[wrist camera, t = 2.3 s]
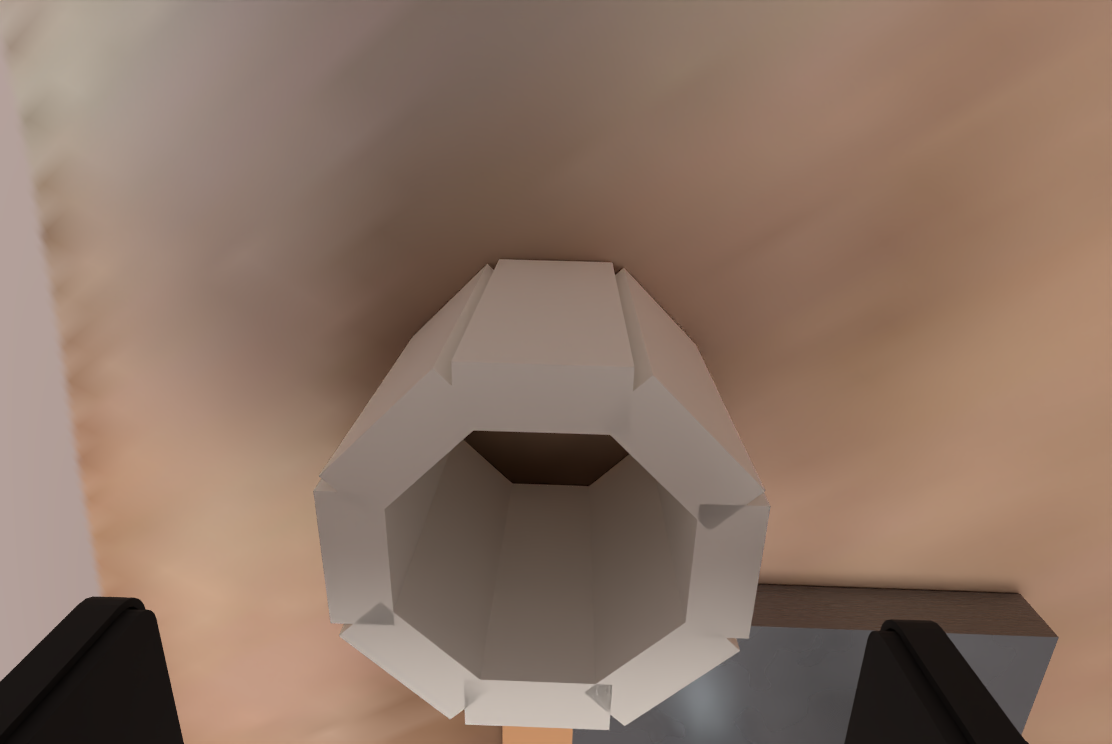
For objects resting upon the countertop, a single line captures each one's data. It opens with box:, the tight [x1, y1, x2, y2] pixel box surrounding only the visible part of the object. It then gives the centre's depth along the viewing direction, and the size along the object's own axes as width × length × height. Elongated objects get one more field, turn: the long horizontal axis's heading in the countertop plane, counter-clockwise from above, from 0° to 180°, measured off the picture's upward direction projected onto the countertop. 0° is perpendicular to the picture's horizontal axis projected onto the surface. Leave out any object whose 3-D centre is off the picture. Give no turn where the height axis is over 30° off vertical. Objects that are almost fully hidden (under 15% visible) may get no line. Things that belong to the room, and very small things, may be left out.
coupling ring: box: [313, 259, 770, 744], centre depth 13 cm, size 8×6×6 cm
